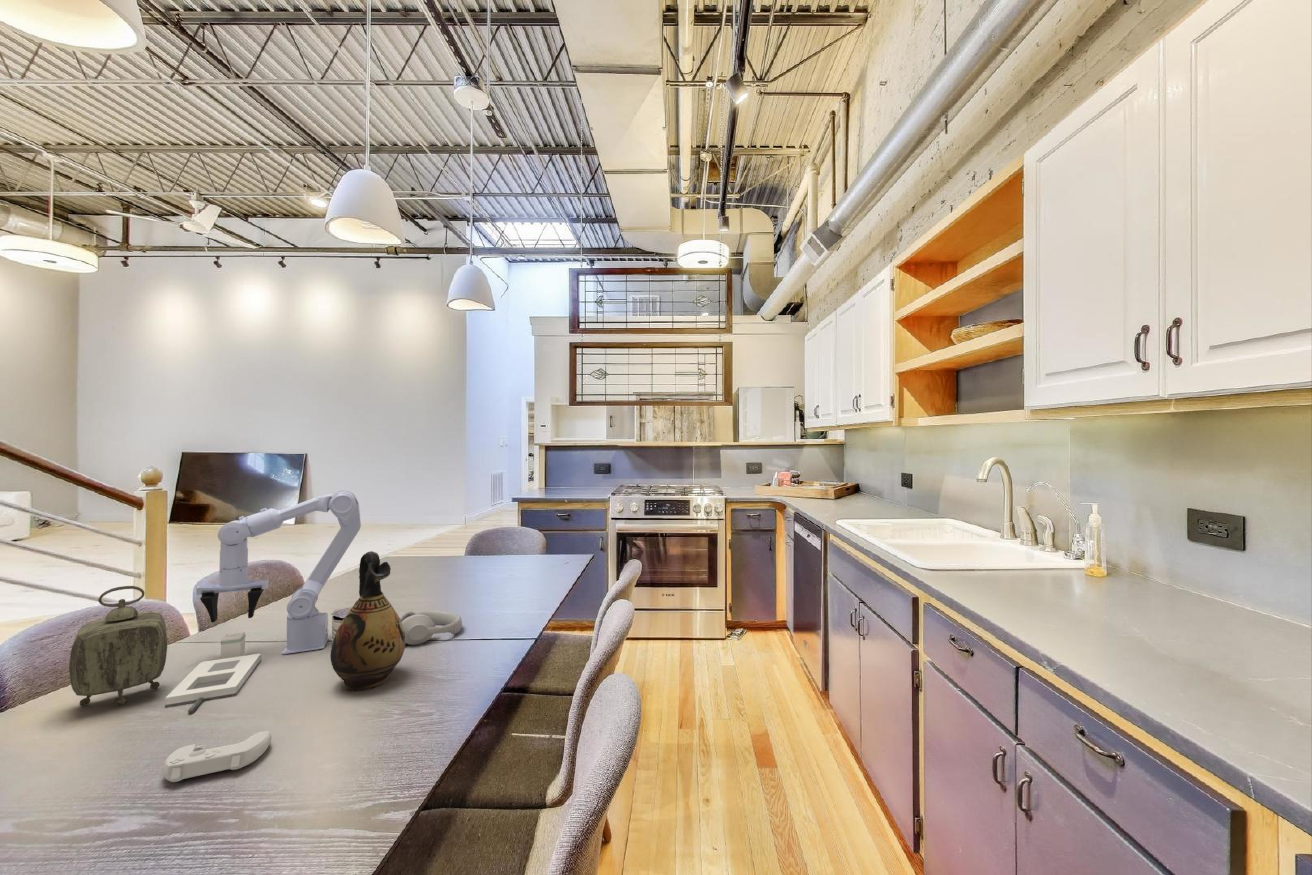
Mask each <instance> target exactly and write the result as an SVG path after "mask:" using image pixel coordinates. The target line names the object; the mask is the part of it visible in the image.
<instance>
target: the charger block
mask: <svg viewBox="0 0 1312 875" xmlns="http://www.w3.org/2000/svg"><path fill="white" fill-rule="evenodd" d="M239 656H246V632H245V631H243V632H236V633H228V634H227V633H226V634H225V635H224V636H223V637H222V638H221V639H220V659H225V658H232V657H239Z"/></svg>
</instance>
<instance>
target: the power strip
mask: <svg viewBox="0 0 1312 875" xmlns="http://www.w3.org/2000/svg"><path fill="white" fill-rule="evenodd" d="M261 662H262V653H254V654H248V655H247V654H245V655H244V656H239V657H232V658H225V659H221V658H220V659H219V658H218V659H213V660H206V661H201V662H200V663H198V665H196V667H195V668H194V669H193V670H192V671H191V672H189V674H188V675H187V676H186V677H184V679H182V680H181V681H180V683H179V684H177V685H176V686H175V687H174V688H173V690H172V691H170V692H169V694H168V695H166V696H165V698H164V699H165V700H164V701H165V703H164V708H169V707H176V706H181V705H187V704H192V706H191V707H189V709H188V710H187V713H188V714H193V713H194V712H195V711H196V710H197V709H198V708H199V706H201V704H203V703H202V702H205V701H206V702H207V701H211V700H216V699H217V700H218V699H223V698H228V697H234V696H237V695H238V693H239V692H240V690H241V689H242V688H243V687H244V685H245V684H246V683H247V681H248V680H249V678H250V676H252V674H253V673H254V672H255V670H256V669H257V667H258V666H259V665H260V663H261Z"/></svg>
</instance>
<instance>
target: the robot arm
mask: <svg viewBox="0 0 1312 875" xmlns="http://www.w3.org/2000/svg"><path fill="white" fill-rule="evenodd" d="M329 511H330V512H331V513H332V514H333V515H334V516H335V517H336V518H337V521H338V524H339V527H340V528H339V530H338V532H337V533H336V535H335V536H334V538H333V539H332V540H331V543H330V544H329V545H328V547H327V549H326V550H325V551H324V553H323V555H322V556H321V557H320V560H319V561H318V562H317V564H316V565H315V567H314V569H313V570H312V571H311V573H310V574H309V577H307V579H306V580H305V582H304V584H302V586H301V587H299V588H298V589H296V590H295V591H293V594H292V595H291V598H290V600H289V601H288V603H287V604H286V605H287V606H286V611H287V613H288V614H286V646H285V647H284V649H283V651H282V652H281V654H282V655H288V654H295V653H297V654H298V653H303V652H310V651H316V650H322V649H324V648H325V647H326V645H327V642H328V640H329V614H328V612H319V611H320V610H319V609H318V608H317V607H316V603H317V602H318V600H319V595H320V594H321V591H322V589H323V588H324V586H325V585H326V583H327V581H328V580H329V579H330V577H331V575H332V574H333V572H334V570H335V569H336V568H337V566H338V564H339V563H340V561H341V560H342V558H343V556H344V555H345V553H346V552H347V550H348V548H349V547H350V546H351V544H352V542H353V540H354V539H355V538H356V536H357V535H358V533H359V531H360V529H361V526H362V525H361V524H362V523H361V513H360V512H361V511H360V503H359V500H358V499H357V497H356V495H355V494H354V493H353V492H351V491H349V490H339V491H338V492H336V493H334V492H331V493H327V494H323V495H319V496H316V497H314V498H310V499H308V500H305V501H302V502H300V503H296V504H294V505H291V506H289V507H287V508H284V509H281V510H279V509H275V508H274V507H273V508H268V509H267V507H264V508H261V509H259V512H257V513H254V514H251V515H248V516H244V515H242V516H239V517H238V519H237V520H232V521H229V522H227V523H225V524H223V525H222V526H221V527H220V528H219V530H218V532H217V538H218V540H219V542H220V546H219V547H220V549H219V572H218V573H219V574H218V576H219V578H218V583H214V584H213V583H212V584H207V585H198V586H197V587H196V594H195V595H196V596H201V597H199V598H200V599H199V600H200V602H201V603H202V604H203V605H204V607H205V609H206V610H207V612H208V615H209V620H210V623H215V622H216V621H218V614H219V613H218V603H219V602H218V601H219V594H220V593H230V592H240V591H248V592H247V599H248V610H247V611H248V612H247V618H248V619H252V618H253V617H254V616H255V615H254V614H255V610H256V609H257V608H256V607H257V604H258V602H259V600H260V598H261V595H262V593H263V591H264V590H266V589H268V588H269V579H264V580H262V579H261V580H248V572H249V570H248V569H249V568H248V567H249V566H248V563H249V562H248V561H249V559H248V558H249V557H248V556H249V547H248V538H254V537H257V536H261V535H263V534H266V533H270V532H272V531H274V530H278V529H280V528H281V527H282V526H283V523H284V522H285V521H288V520H291V519H295V518H298V517H302V516H304V515H306V514H310V513H313V512H322V513H328V512H329Z"/></svg>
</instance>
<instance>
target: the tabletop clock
mask: <svg viewBox="0 0 1312 875" xmlns="http://www.w3.org/2000/svg"><path fill="white" fill-rule="evenodd" d="M122 590H136V591H138V592H140V593H141V595H140V596H139V597H138V598H135V599H132V600H130V601H126V599H125V598H123V599H122V598H120V599H119V600H118V603H117V602H116V603H106V602H103V600H102V599H103V598H104V597H105V596H106V595H108V594H110V593H112V592H116V591H122ZM145 594H146V593H145V590H144V589H143V588H141V587H140V586H136V585H124V586H117V587H112V588H109V589H108V590H105V591H104V592H103V593H101V595H100V596H99V597H98V600H97V601H98V603H99V604H100V605H101V606H103V607H108V608H109V607H110V608H114V609H111V610H110V611H108V613H107V614H106V615H105V618H102V619H97V620H94V621H90V622H88V623H86V624H83V625H81V627H80V628H79V629H78V631H77V634H76V636H75V638H74V641H73V644H72V647H71V649H70V656H69V657H70V658H69V662H68V663H69V664H68V671H69V682H70V684H71V688H72V692H74V693H75V696H81V697H84V698H82V699H80V700H79V704H78V705H79V706H80V707H86V706H88V705H89V704H90V703H91V697H92V696H97V695H103V694H108V693H114V692H117V696H118V698H116V699H115V701H114V705H115V706H117V707H120V706H123V705H124V704H125V703H126V698H125V697H123V693H124V692H123V691H124V690H127V689H130V688H134V687H137V686H141V685H144V684H147V683H149V684H150V685H149V689H151V690H157V689H159V687H160V682H159V681H154V680H157V679H158V678H160V677H161V675H162V673H163V671H164V668H165V665H166V662H167V653H168V652H167V651H168V636H167V625H166V622H165V618H164V616H163V615H162V613H161V612H155V611H154V612H153V611H152V612H151V611H145V612H138V610H137V609H136V608H135V607H133V606H130V605H133V604H135V603H138V602H139V601H140V600H142V599H143V598H144V596H145Z"/></svg>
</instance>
